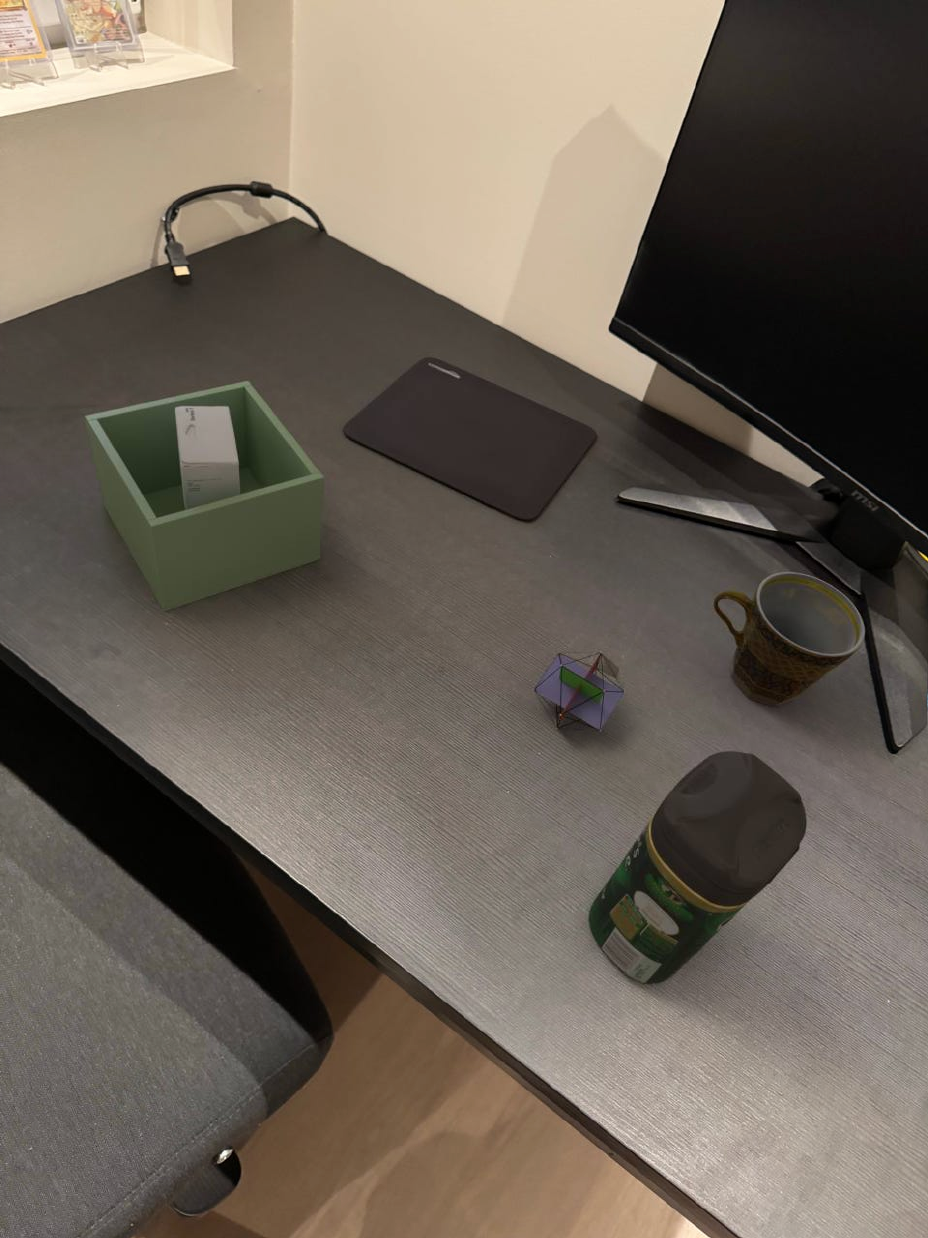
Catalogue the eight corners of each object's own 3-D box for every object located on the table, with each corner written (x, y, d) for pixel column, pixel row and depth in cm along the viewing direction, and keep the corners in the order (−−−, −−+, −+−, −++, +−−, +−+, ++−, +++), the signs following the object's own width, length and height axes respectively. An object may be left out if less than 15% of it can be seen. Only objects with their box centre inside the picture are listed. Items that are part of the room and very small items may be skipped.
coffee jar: (643, 846, 68) (737, 718, 54) (721, 921, 65) (841, 805, 51) (565, 923, 63) (647, 802, 49) (646, 1008, 60) (758, 905, 46)
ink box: (245, 559, 81) (240, 462, 72) (190, 563, 79) (179, 465, 70) (234, 499, 86) (229, 402, 77) (183, 502, 84) (172, 403, 75)
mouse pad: (600, 432, 104) (600, 430, 104) (531, 525, 91) (531, 524, 91) (427, 354, 109) (427, 353, 109) (336, 432, 96) (337, 431, 96)
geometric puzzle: (582, 759, 70) (630, 678, 68) (513, 715, 72) (558, 635, 70) (597, 741, 77) (641, 667, 75) (533, 702, 79) (575, 628, 77)
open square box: (102, 503, 83) (84, 415, 75) (250, 464, 90) (248, 380, 82) (164, 611, 76) (151, 526, 68) (320, 559, 83) (324, 476, 75)
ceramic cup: (812, 658, 85) (863, 592, 78) (811, 735, 79) (867, 671, 71) (689, 617, 86) (728, 548, 79) (678, 690, 80) (719, 622, 72)
